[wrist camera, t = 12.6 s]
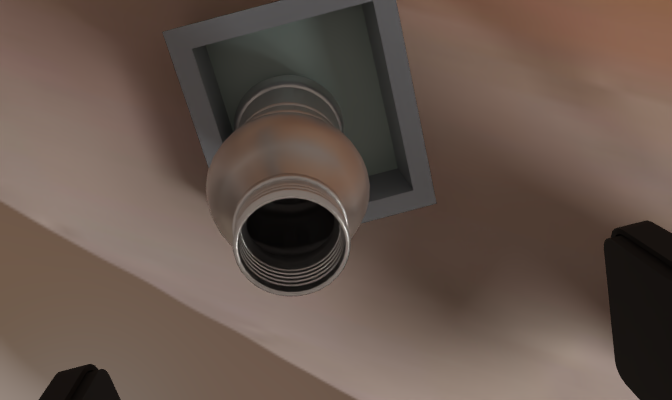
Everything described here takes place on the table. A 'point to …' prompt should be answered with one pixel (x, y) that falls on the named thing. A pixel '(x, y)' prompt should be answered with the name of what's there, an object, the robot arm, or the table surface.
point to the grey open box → (322, 67)
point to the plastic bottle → (288, 187)
